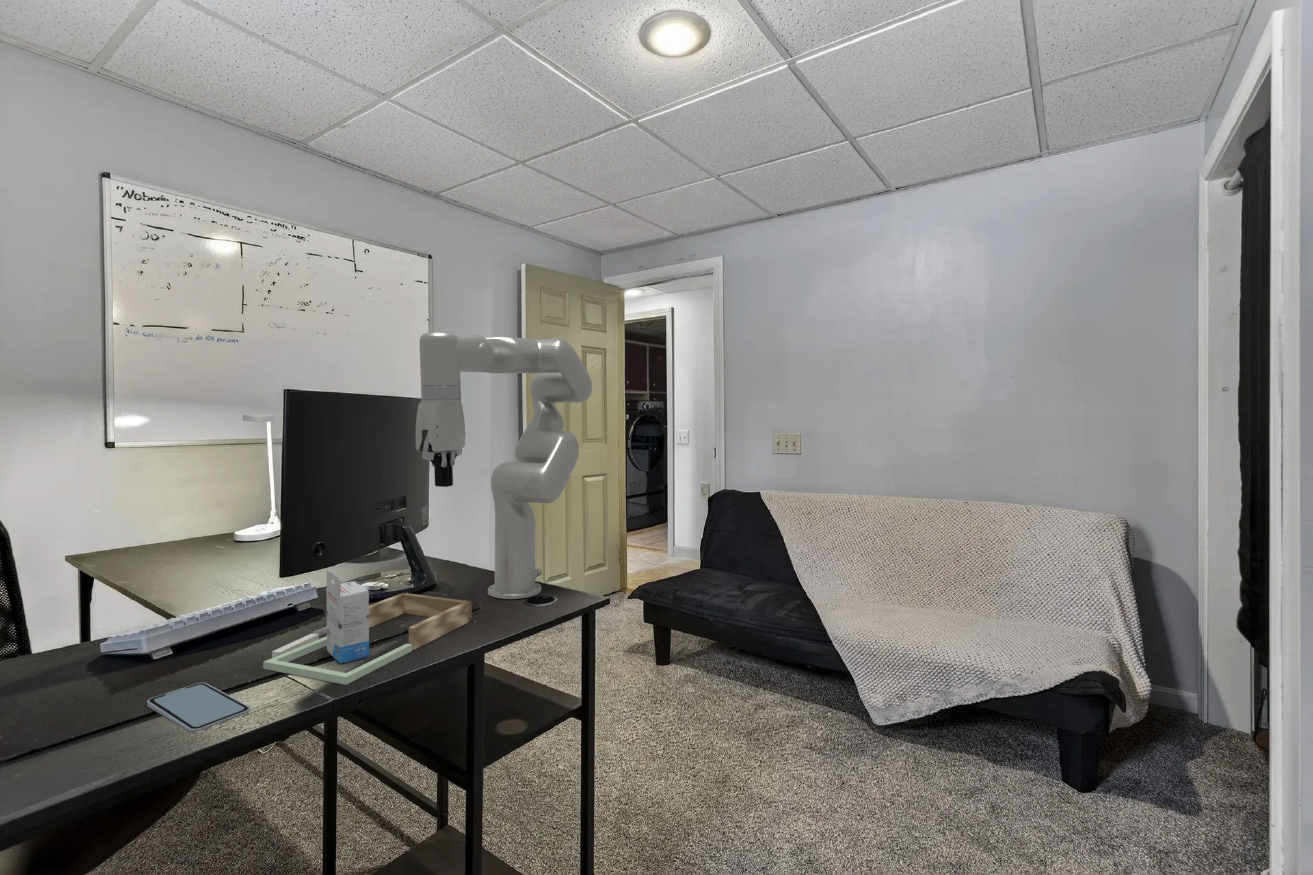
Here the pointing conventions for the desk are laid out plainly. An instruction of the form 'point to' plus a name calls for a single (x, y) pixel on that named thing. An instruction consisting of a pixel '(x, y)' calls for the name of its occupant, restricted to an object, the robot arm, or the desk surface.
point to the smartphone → (197, 706)
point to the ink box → (347, 619)
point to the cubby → (440, 611)
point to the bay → (284, 666)
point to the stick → (295, 644)
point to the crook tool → (321, 631)
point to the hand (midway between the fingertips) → (444, 485)
